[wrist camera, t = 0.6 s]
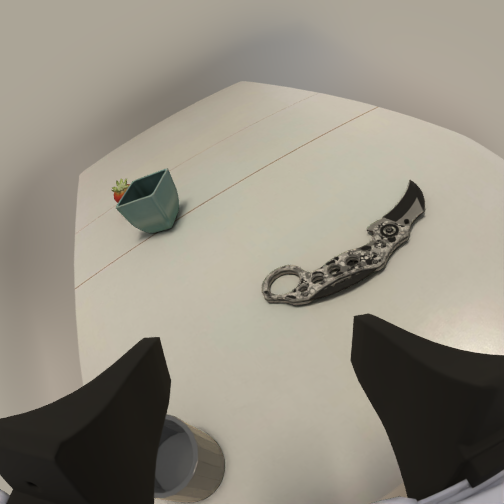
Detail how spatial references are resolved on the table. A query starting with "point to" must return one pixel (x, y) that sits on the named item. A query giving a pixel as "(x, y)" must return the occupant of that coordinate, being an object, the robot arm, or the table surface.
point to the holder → (186, 463)
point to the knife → (353, 255)
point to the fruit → (120, 190)
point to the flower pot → (151, 202)
